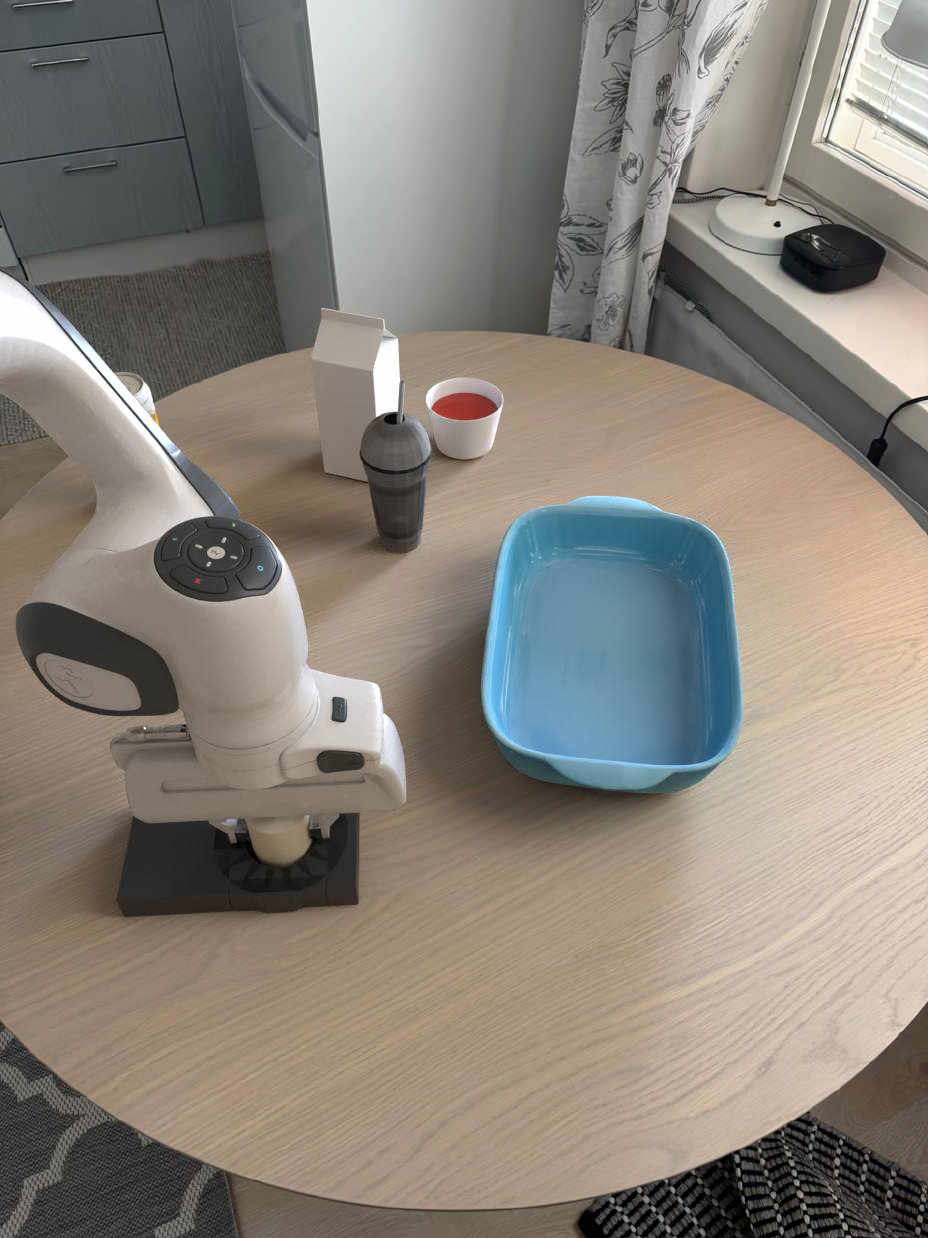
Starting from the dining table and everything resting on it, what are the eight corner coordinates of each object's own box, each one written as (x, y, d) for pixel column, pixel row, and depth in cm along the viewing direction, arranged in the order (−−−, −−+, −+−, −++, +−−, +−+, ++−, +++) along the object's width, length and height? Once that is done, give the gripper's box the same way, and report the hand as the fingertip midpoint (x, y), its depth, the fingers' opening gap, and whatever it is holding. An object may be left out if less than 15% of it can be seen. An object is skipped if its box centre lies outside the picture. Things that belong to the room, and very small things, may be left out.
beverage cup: (394, 509, 111) (385, 348, 97) (447, 534, 108) (446, 372, 94) (352, 544, 107) (337, 382, 93) (406, 571, 104) (398, 408, 90)
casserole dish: (504, 534, 108) (506, 482, 103) (712, 551, 106) (725, 498, 101) (465, 823, 83) (465, 772, 77) (738, 851, 81) (757, 801, 76)
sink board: (123, 921, 76) (115, 905, 74) (145, 804, 84) (138, 787, 82) (358, 908, 77) (356, 892, 75) (360, 793, 85) (357, 776, 83)
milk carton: (380, 485, 114) (370, 335, 100) (324, 473, 116) (306, 324, 102) (403, 451, 119) (396, 303, 105) (348, 439, 120) (334, 292, 107)
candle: (412, 449, 119) (410, 403, 114) (455, 413, 124) (455, 369, 120) (474, 475, 115) (474, 430, 111) (516, 438, 121) (518, 393, 116)
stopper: (251, 873, 78) (237, 824, 73) (256, 821, 82) (243, 771, 77) (313, 870, 78) (303, 821, 73) (315, 818, 82) (306, 767, 77)
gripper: (93, 768, 66) (141, 876, 76) (402, 753, 67) (409, 861, 77) (111, 695, 70) (154, 806, 80) (400, 682, 71) (407, 793, 81)
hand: (281, 833), depth 79 cm, fingers closed on stopper, 5 cm apart
